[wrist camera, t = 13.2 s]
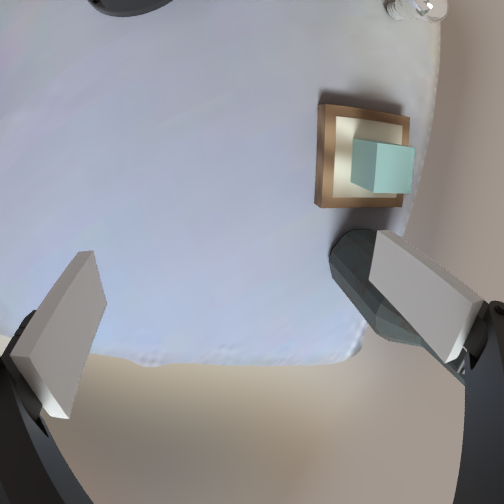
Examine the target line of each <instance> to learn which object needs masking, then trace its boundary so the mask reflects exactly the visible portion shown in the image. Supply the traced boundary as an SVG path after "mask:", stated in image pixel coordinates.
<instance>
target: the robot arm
mask: <svg viewBox="0 0 504 504" xmlns="http://www.w3.org/2000/svg"><path fill="white" fill-rule="evenodd" d="M171 1H172V0H88V2H89V3H90V4H91V5H92V6H93V7H94V8H95V9H96V10H98V11H99V12H101V13H103V14H106V15H110V16H116V17H130V16H136V15H141V14H145V13H148V12H151V11H154V10H156V9H158V8H160V7H162V6H164V5H166V4H168V3H169V2H171ZM369 281H370V282H371V283H372V284H373V285H374V286H375V287H376V288H377V289H378V290H379V291H380V292H381V293H382V294H383V295H384V296H385V297H386V298H387V299H388V301H389V302H390V303H391V304H392V305H393V306H394V307H395V308H396V309H397V310H398V311H399V312H400V313H401V315H402V316H403V317H404V318H405V319H406V320H407V321H408V322H409V323H410V324H411V325H412V327H413V328H414V329H415V330H416V331H417V332H418V333H419V334H420V336H421V337H422V338H423V339H424V340H425V341H426V342H427V343H428V345H429V346H430V347H431V348H432V349H433V350H434V351H435V353H436V354H437V355H438V356H439V357H440V358H441V360H442V361H443V362H444V363H447V362H450V361H452V360H454V359H456V358H457V357H458V355H459V354H460V352H461V350H462V348H463V346H464V347H465V348H466V349H467V352H466V354H465V356H464V358H463V360H462V362H461V364H460V365H459V367H458V369H457V373H459V372H460V370H461V368H462V367H465V369H464V371H463V372H462V374H465V418H464V433H463V434H464V435H463V445H462V454H461V462H460V469H459V476H458V481H457V486H456V492H455V497H454V501H453V504H504V303H502V302H499V301H491V302H490V303H489V304H488V303H487V302H486V301H484V299H483V298H482V297H480V296H479V295H478V294H477V293H475V292H474V291H473V290H472V289H470V288H469V287H468V286H467V285H465V284H464V283H463V282H462V281H460V280H459V279H458V278H456V277H455V276H454V275H452V274H451V273H450V272H448V271H447V270H446V269H445V268H443V267H442V266H440V265H439V264H438V263H436V262H435V261H434V260H432V259H431V258H430V257H428V256H427V255H425V254H424V253H423V252H421V251H420V250H418V249H417V248H415V247H414V246H413V245H411V244H410V243H408V242H407V241H405V240H404V239H402V238H401V237H400V236H398V235H397V234H395V233H394V232H392V231H391V230H377V236H376V242H375V248H374V254H373V259H372V265H371V270H370V275H369ZM106 306H107V301H106V298H105V294H104V291H103V287H102V283H101V280H100V276H99V272H98V268H97V264H96V259H95V255H94V251H83V252H78V253H77V255H76V256H75V257H74V259H73V260H72V261H71V262H70V264H69V265H68V266H67V268H66V269H65V270H64V272H63V273H62V274H61V276H60V277H59V279H58V280H57V281H56V283H55V284H54V286H53V287H52V288H51V290H50V291H49V293H48V294H47V296H46V297H45V299H44V300H43V302H42V303H41V305H40V306H39V308H38V309H37V310H33V311H32V312H31V313H30V314H29V315H28V316H26V317H25V318H24V320H23V321H22V323H21V325H20V326H19V329H17V331H16V332H15V334H14V335H15V336H13V337H12V339H11V341H10V342H9V344H8V346H7V348H6V349H5V351H4V353H3V354H2V356H1V357H0V504H94V503H93V502H92V501H91V499H90V498H89V496H88V495H87V494H86V492H85V491H84V489H83V488H82V486H81V485H80V483H79V482H78V480H77V479H76V477H75V476H74V474H73V473H72V471H71V469H70V468H69V466H68V464H67V463H66V461H65V459H64V457H63V456H62V454H61V452H60V451H59V449H58V447H57V445H56V443H55V441H54V439H53V437H52V435H51V433H50V432H49V429H48V428H47V425H46V423H45V421H44V420H43V418H42V417H41V416H40V411H41V408H42V406H43V407H44V408H45V410H46V411H47V412H48V414H49V415H50V416H52V417H58V418H66V419H69V418H70V414H71V410H72V406H73V403H74V399H75V395H76V392H77V389H78V385H79V382H80V379H81V375H82V372H83V369H84V366H85V363H86V360H87V357H88V354H89V351H90V348H91V346H92V343H93V340H94V337H95V334H96V332H97V329H98V326H99V324H100V321H101V318H102V316H103V313H104V311H105V308H106Z"/></svg>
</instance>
